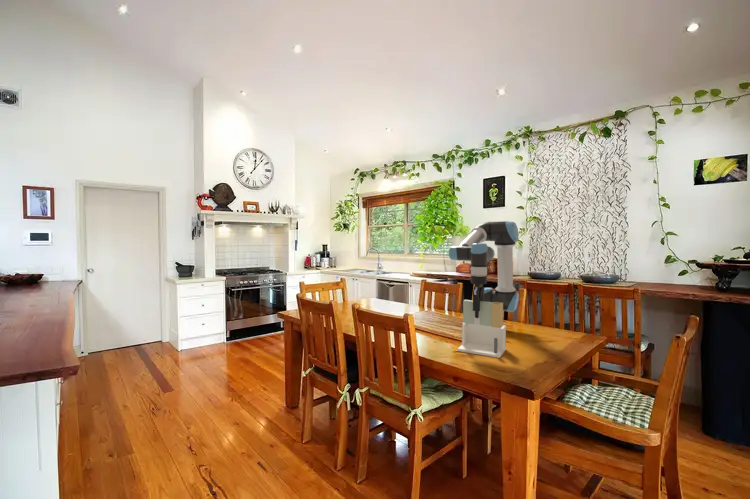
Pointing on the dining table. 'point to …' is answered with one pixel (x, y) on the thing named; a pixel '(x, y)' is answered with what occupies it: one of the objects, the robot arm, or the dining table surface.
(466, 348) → the box
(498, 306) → the door
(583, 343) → the dining table surface
